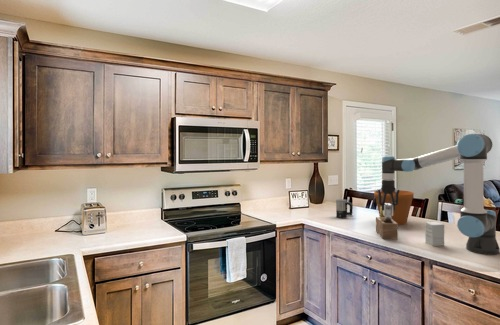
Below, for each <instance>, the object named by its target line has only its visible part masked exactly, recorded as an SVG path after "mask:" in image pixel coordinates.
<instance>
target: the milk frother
mask: <svg viewBox="0 0 500 325" xmlns="http://www.w3.org/2000/svg"><path fill="white" fill-rule="evenodd" d="M348 206H349V211H348ZM353 206H354V205H353V203H352V202H349V201H348V200H347V199H336V200H335V207H336V213H335V214H336V216H335V217H336V218H337V219H347V218H348V216H352V215H353V209H354V208H353Z"/></svg>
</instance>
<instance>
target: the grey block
mask: <svg viewBox="0 0 500 325" xmlns="http://www.w3.org/2000/svg"><path fill="white" fill-rule="evenodd" d="M384 205H385V221H387V222H391V221H392V207H393V205H392V204H391V203H385V204H384Z"/></svg>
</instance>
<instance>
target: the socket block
mask: <svg viewBox="0 0 500 325" xmlns="http://www.w3.org/2000/svg"><path fill="white" fill-rule="evenodd" d="M398 226H399V225H398V224H397V223H396V222H395V221H394V220H392V221H391V222H387V221H385V219H380V216H375V232H376V233H377V234H378V235H379V236H380V237H381V239H383V240H398V239H399V237H398V235H399V234H398V231H399V230H398Z"/></svg>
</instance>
